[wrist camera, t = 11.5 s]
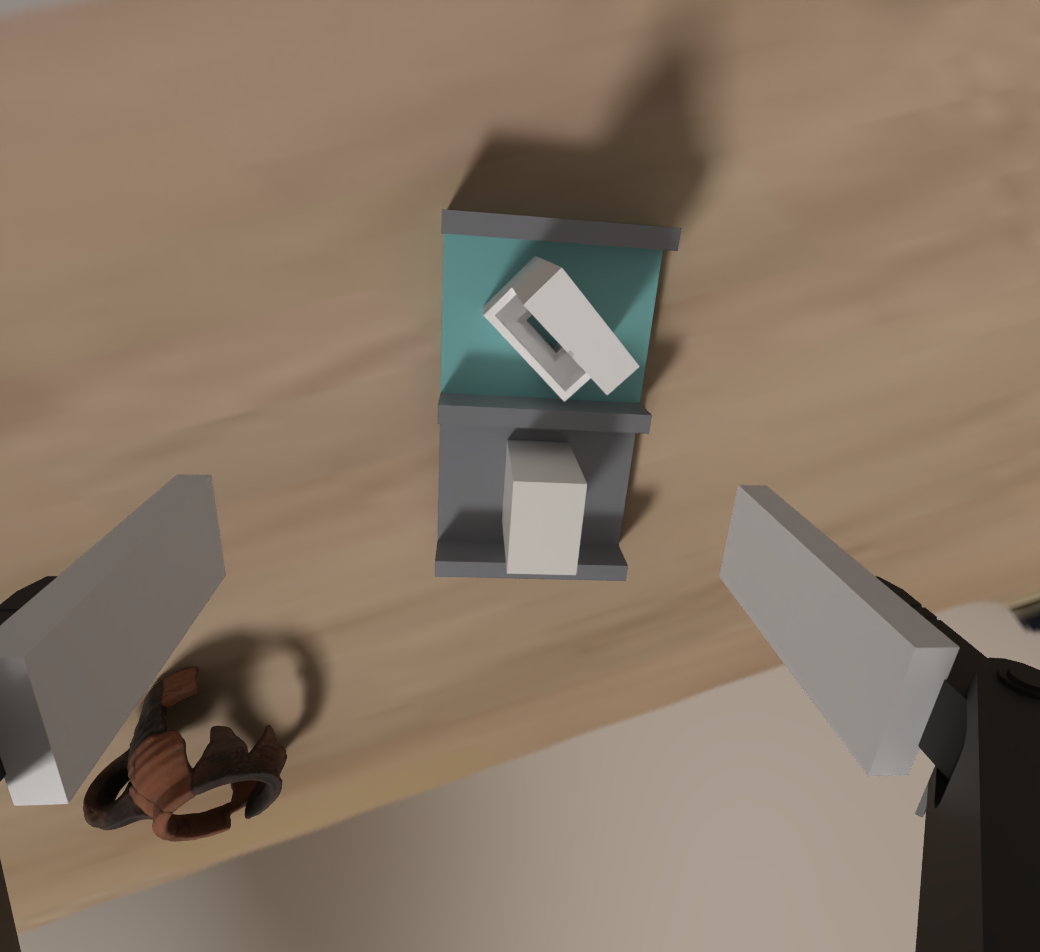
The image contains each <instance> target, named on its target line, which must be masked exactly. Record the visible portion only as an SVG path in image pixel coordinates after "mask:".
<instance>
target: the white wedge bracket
mask: <svg viewBox="0 0 1040 952" xmlns="http://www.w3.org/2000/svg"><path fill="white" fill-rule="evenodd" d="M531 315H533V316H534V317H535V318H536V319H537V320H538V321H539V322H540V323H541V325H542V326H543V327H544V328H545V329H546V330H547V331H548V332H549V333H550V334H551V335H552V336H553V337H554V339H555V340H556V341H557V342H558V343H557V344H556V345H555V346H554V347H553V348H552V347H551V346H550V344H549V343H548V342H547V341H546V340H545V339H544V338H543V337H542V336H541V335H540V333H539V332H538V331H537V330H536V329H535V328H534V327H533V326H532V325H531V324H530V322H529V321H528V320H527V319H528V318H529V317H530V316H531ZM483 316H484V317H485V318H486V319H487V320H488V321H489V322H490V323H491V324H492V325H493V326H494V327H495V328H496V329H497V330H498V332H499V333H500V334H501V335H502V336H503V337H504V338H505V339H506V340H507V341H508V342H509V343H510V344H511V345H512V346H513V348H514V349H515V350H516V351H517V352H518V353H519V354H520V355H521V356H522V357H523V358H524V359H525V360H526V361H527V363H528V364H529V365H530V366H531V367H532V368H533V369H534V370H535V371H536V372H537V373H538V374H539V375H540V376H541V377H542V379H543V380H544V381H545V382H546V383H547V384H548V385H549V386H550V387H551V388H552V389H553V390H554V391H555V392H556V393H557V395H558V396H559V397H560V398H561V399H562V400H563V401H564V402H565V401H566V400H567V399H568V398H569V397H570V396H572V395H573V394H574V393H575V392H576V391H577V390H578V389H579V388H580V387H582V386H583V385H584V384H585V383H586V382H587V381H588V380H589V379H590V378H591V379H592V380H593V381H594V382H595V383H596V384H597V385H598V386H599V387H600V388H601V389H602V390H603V392H604V393H605V394H606V395H608V394H609V393H611V392H612V391H613V390H614V389H615V388H616V387H617V386H618V385H620V384H621V383H622V382H623V381H624V380H625V379H626V378H627V377H629V376H630V375H631V374H632V373H633V372H634V371H635V370H636V369H638V368H639V367H640V366H639V365H638V364H637V363H636V361H635V360H634V359H633V357H632V356H631V355H630V354H629V352H628V351H627V350H626V349H625V347H624V346H623V345H622V343H621V342H620V341H619V340H618V338H617V337H616V336H615V335H614V333H613V332H612V331H611V329H610V328H609V327H608V326H607V324H606V323H605V322H604V320H603V319H602V318H601V317H600V315H599V314H598V313H597V312H596V310H595V309H594V308H593V306H592V305H591V304H590V303H589V301H588V300H587V299H586V298H585V296H584V295H583V294H582V292H581V291H580V290H579V289H578V287H577V286H576V285H575V284H574V282H573V281H572V280H571V278H570V277H569V276H568V275H567V273H566V272H565V271H564V269H563V268H562V267H560V266H557V265H555V264H553V263H551V262H548V261H546V260H544V259H541V258H539V257H537V256H534V257H533V258H532V259H531V260H530V261H529V262H528V263H527V264H526V265H525V266H524V267H523V268H522V269H521V270H520V271H519V272H518V273H517V274H516V275H515V276H514V277H513V278H512V279H511V280H510V281H509V282H508V283H507V284H506V285H505V286H504V287H503V288H502V289H501V290H500V291H499V292H498V293H497V294H496V295H495V296H494V297H493V298H492V299H491V300H490V301H489V302H488V303H487V304H486V305H485V306H484V307H483Z"/></svg>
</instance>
